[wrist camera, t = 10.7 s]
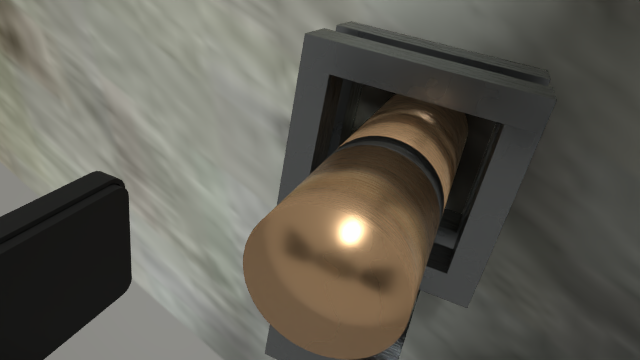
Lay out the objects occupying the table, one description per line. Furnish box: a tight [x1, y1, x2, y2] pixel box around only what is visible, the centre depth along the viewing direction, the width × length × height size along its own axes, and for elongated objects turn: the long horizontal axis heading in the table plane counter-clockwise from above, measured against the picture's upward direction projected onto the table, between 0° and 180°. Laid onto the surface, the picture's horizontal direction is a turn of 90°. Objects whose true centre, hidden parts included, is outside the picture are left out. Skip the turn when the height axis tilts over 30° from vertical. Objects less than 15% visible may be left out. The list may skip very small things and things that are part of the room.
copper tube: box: [243, 93, 468, 360], centre depth 17 cm, size 4×4×14 cm
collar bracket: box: [265, 21, 557, 360], centre depth 20 cm, size 9×13×10 cm
